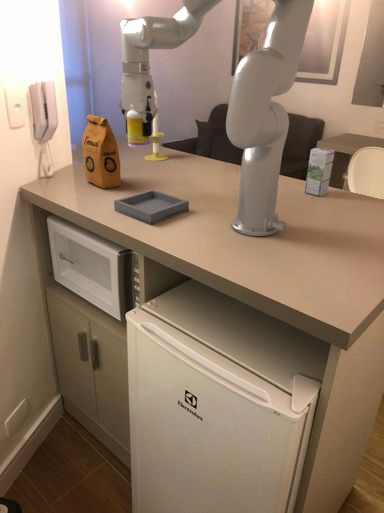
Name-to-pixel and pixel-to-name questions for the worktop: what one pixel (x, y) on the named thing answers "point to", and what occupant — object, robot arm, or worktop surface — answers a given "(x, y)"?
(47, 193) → the worktop surface
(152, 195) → the tray
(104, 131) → the coffee package
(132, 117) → the supplement bottle
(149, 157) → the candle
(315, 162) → the syrup box
